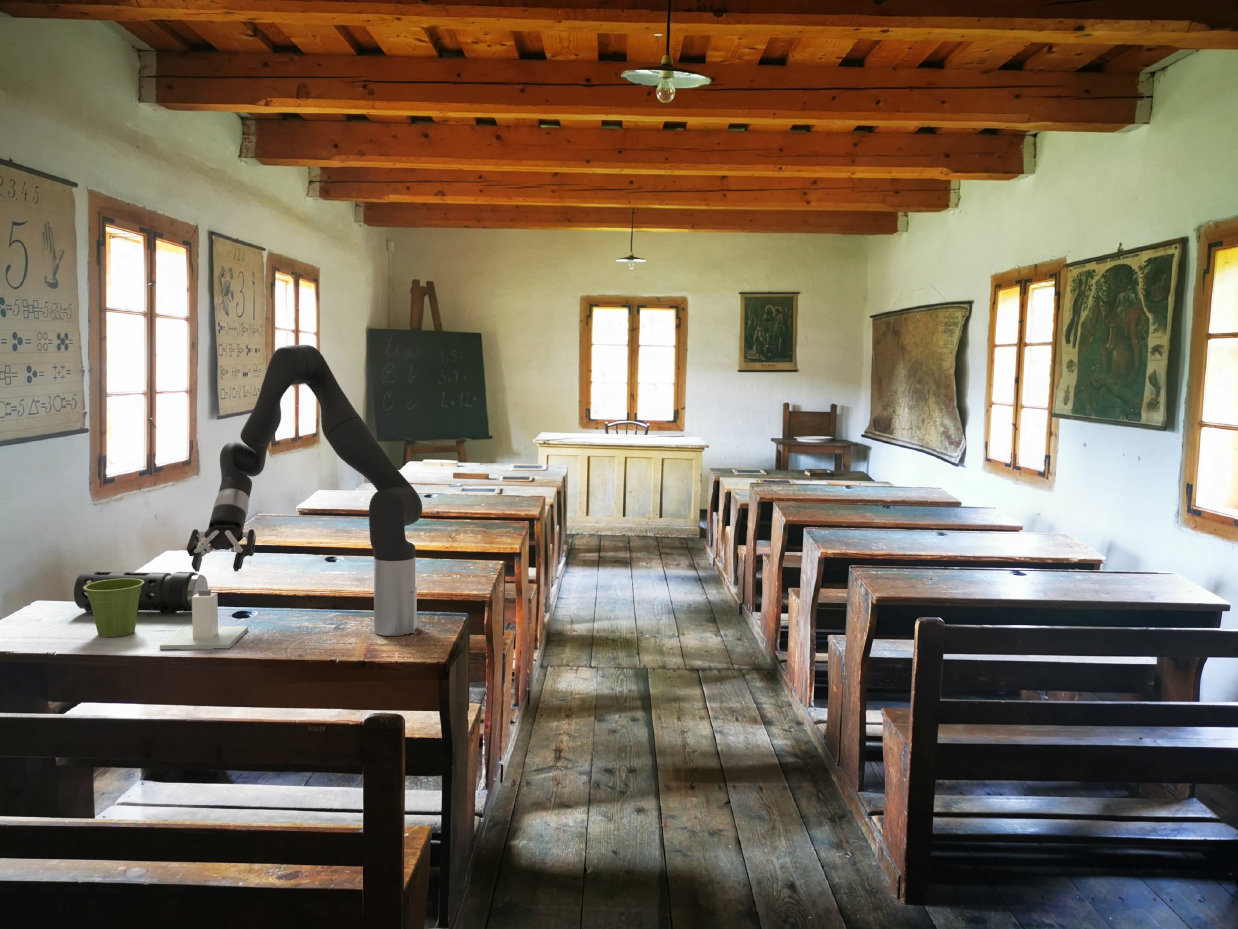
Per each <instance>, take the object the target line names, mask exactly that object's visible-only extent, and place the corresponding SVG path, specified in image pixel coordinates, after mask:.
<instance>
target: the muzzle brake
mask: <svg viewBox="0 0 1238 929" xmlns="http://www.w3.org/2000/svg"><path fill="white" fill-rule="evenodd" d="M123 578H133V579H141V580H143V581H144V584H143V585H142V587H141V594H140V595H139V602H138V610H137V613H138V612H140V611H142V612H159V614H160V615H175V614H177V613H178V612H192V597H193V596H194V595H196V594H197V593H198V590H209V585H208V580H207V578H206V576H205V575H203V574H198V572H195V571H176V572H174V573H170V572H153V571H152V572H133V571H132V572H131V571H129V572H128V571H87V570H86V571H83V572H81V573H80V574H79V575H78V576H77V578H76V581H75V583H74V588H73V599H74V603H75V605H76V606H77V608H79V609H83V610H84V611H85V613H93V611H92V607H91V603H90V600H89V599H88V595H87V592H86V590H84V589H83V587H84V586H85V585H87V584H90V583H94V582H98V581H103V580H110V579H123ZM89 581H90V582H89ZM89 611H91V612H89Z"/></svg>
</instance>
